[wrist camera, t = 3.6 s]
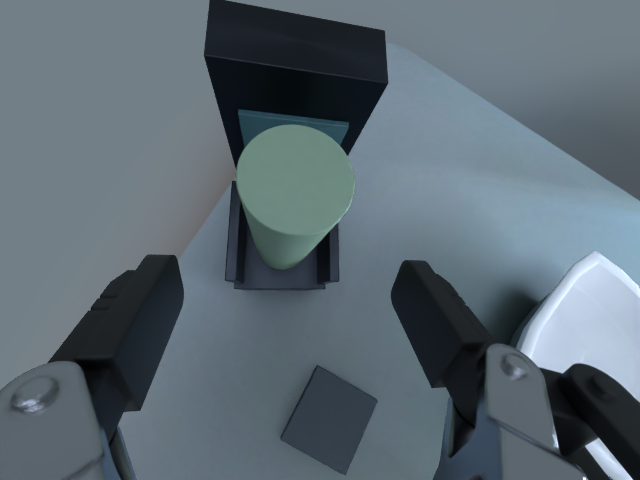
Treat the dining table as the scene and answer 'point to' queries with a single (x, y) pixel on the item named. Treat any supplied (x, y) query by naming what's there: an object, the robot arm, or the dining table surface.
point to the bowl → (588, 332)
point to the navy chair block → (288, 109)
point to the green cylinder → (293, 191)
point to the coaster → (329, 420)
